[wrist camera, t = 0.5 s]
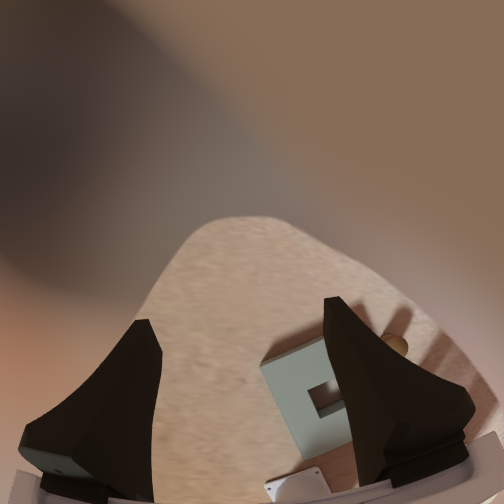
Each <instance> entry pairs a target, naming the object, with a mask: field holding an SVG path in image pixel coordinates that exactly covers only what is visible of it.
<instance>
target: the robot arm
mask: <svg viewBox="0 0 504 504" xmlns="http://www.w3.org/2000/svg"><path fill="white" fill-rule="evenodd" d="M323 337H324V341H325V346H326V350H327V354H328V358H329V360H330V363H331V366H332V369H333V372H334V375H335V377H336V380H337V383H338V386H339V389H340V391H341V394H342V397H343V400H344V404H345V407H346V411H347V416H348V421H349V425H350V430H351V435H352V441H353V446H354V452H355V458H356V464H357V472H358V479H359V487H358V488H354V489H350V490H346V491H341V492H336V493H331V491H330V489H329V487H328V485H327V483H326V481H325V479H324V476H323V474H322V472H321V470H320V468H319V467H318V466H314V467H312V468H309V469H306V470H304V471H301V472H298V473H295V474H292V475H289V476H286V477H283V478H280V479H277V480H274V481H271V482H268V483H265V484H264V487H265V489H266V491H267V493H268V494H269V496H270V498H271V499H272V501H273V502H271V503H260V504H481V503H483V502H485V501H486V500H488V499H489V498H491V497H493V496H494V495H496V494H497V493H499V492H500V491H501V490H503V489H504V449H503V447H502V445H501V443H500V440H499V438H498V436H497V434H496V432H495V431H492V432H490V433H488V434H486V435H484V436H482V437H480V438H478V439H476V440H474V441H472V442H471V443H469V444H468V445H466V446H465V444H464V441H463V440H464V439H465V434H464V431H463V429H464V427H465V426H466V425H467V424H468V422H469V421H470V420H471V418H472V417H473V415H474V413H475V410H476V407H475V405H474V403H473V401H472V399H471V397H470V395H469V394H468V392H467V391H466V389H465V387H462V386H460V385H457V384H455V383H452V382H449V381H447V380H444V379H442V378H440V377H438V376H436V375H434V374H432V373H430V372H428V371H426V370H424V369H423V368H421V367H419V366H418V365H416V364H414V363H412V362H411V361H409V360H408V359H406V358H405V357H403V356H402V355H400V354H399V353H398V352H396V351H395V350H394V349H392V348H391V347H390V346H389V345H388V344H386V343H385V342H384V341H383V340H382V339H381V338H379V337H378V336H377V335H376V334H375V333H374V332H373V331H372V330H371V329H370V328H369V327H368V326H367V325H366V324H365V323H364V322H363V321H362V320H361V319H360V318H359V317H358V316H357V315H356V314H355V313H354V312H353V311H352V310H351V309H350V308H349V307H348V305H347V304H346V303H345V302H344V301H343V300H342V299H341V298H340V297H339V296H337V297H331V298H325V299H324V321H323ZM162 354H163V352H162V350H161V347H160V345H159V343H158V341H157V338H156V336H155V334H154V331H153V329H152V326H151V324H150V322H149V319H142V320H135V321H134V322H133V323H132V325H131V326H130V327H129V329H128V330H127V331H126V333H125V334H124V335H123V337H122V338H121V339H120V341H119V342H118V343H117V345H116V346H115V347H114V349H113V350H112V351H111V352H110V354H109V355H108V356H107V357H106V359H105V360H104V361H103V362H102V363H101V364H100V366H99V367H98V368H97V369H96V370H95V372H94V373H93V374H92V375H91V376H90V377H89V378H88V379H87V380H86V381H85V382H84V383H83V384H82V385H81V386H80V387H79V388H78V389H77V390H76V391H74V392H73V393H72V394H71V395H70V396H68V397H67V398H66V399H65V400H64V401H62V402H61V403H60V404H59V405H57V406H56V407H54V408H53V409H52V410H50V411H49V412H47V413H46V414H44V415H43V416H41V417H39V418H37V419H36V420H34V421H32V422H31V423H29V424H27V425H26V427H25V429H24V432H23V435H22V438H21V441H20V444H19V447H18V451H19V453H20V454H21V455H22V456H23V457H24V458H25V459H26V460H27V461H28V462H30V463H31V464H33V465H34V466H35V467H37V468H38V469H39V470H40V471H42V472H43V475H42V478H41V477H39V476H36V475H34V474H30V473H28V472H24V471H21V470H17V471H16V474H15V478H14V482H13V485H12V489H11V493H10V497H9V501H8V504H159V503H154V496H153V485H152V467H151V441H152V423H153V415H154V410H155V404H156V399H157V394H158V389H159V383H160V378H161V371H162ZM316 471H319V472H318V473H316ZM268 488H271V489H268Z"/></svg>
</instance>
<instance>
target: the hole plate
mask: <svg viewBox="0 0 504 504" xmlns="http://www.w3.org/2000/svg"><path fill="white" fill-rule="evenodd" d="M260 369H261V371H262V374H263V376H264V378H265V380H266V382H267V384H268V387H269V389H270V391H271V393H272V395H273V397H274V399H275V401H276V404H277V406H278V408H279V410H280V412H281V414H282V416H283V418H284V420H285V422H286V425H287V427H288V429H289V431H290V433H291V435H292V437H293V439H294V441H295V443H296V445H297V447H298V449H299V451H300V453H301V455H302V457H303V459H304V461H306V460H308V459H311V458H314V457H316V456H319V455H321V454H324V453H326V452H328V451H331V450H333V449H335V448H338V447H340V446H342V445H345V444H347V443H349V442H351V441H352V435H351V430H350V425H349V421H348V416H347V411H346V407H345V404H344V400H341V401H339V402H336V403H334V404H332V405H330V406H328V407H325V408H323V409H321V410H318V411H317V409H316V407H315V405H314V403H313V400H312V398H311V396H310V394H309V391H308V390H309V389H311V388H313V387H316V386H318V385H320V384H322V383H325V382H327V381H329V380H331V379H333V378H335V375H334V372H333V369H332V366H331V363H330V360H329V358H328V354H327V350H326V346H325V341H324V337H323V335H322V336H320V337H317V338H315V339H313V340H311V341H309V342H307V343H304V344H302V345H300V346H298V347H295V348H293V349H291V350H289V351H286V352H284V353H282V354H279V355H277V356H275V357H272V358H270V359H267V360H265V361H263V362H261V364H260Z"/></svg>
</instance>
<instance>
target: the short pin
mask: <svg viewBox="0 0 504 504" xmlns="http://www.w3.org/2000/svg"><path fill="white" fill-rule="evenodd" d="M380 338H381V339H382V340H383V341H384V342H385V343H386V344H388V345H389V346H390V347H391V348H392V349H394V350H395V351H396V352H398V353H399V354H400V355H402V356H403V357H405V355H406V354H407V352H408V343H407V341H406V340H405V339H404V338H401V337H398V336H395V335H391V334H385V335H383V336H381V337H380Z"/></svg>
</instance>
